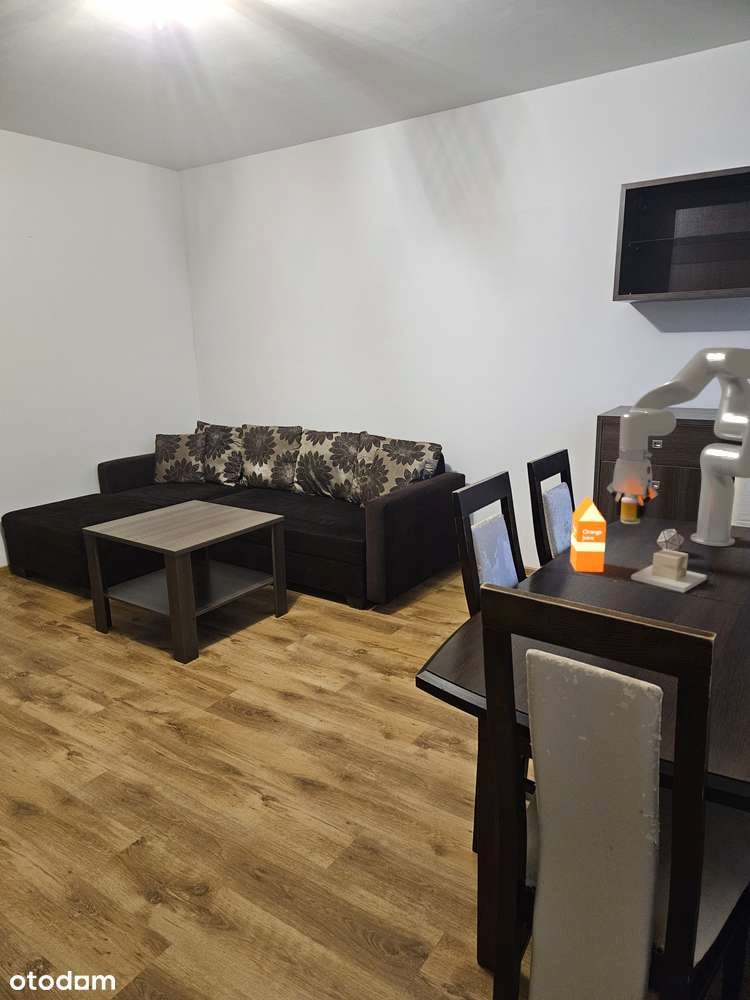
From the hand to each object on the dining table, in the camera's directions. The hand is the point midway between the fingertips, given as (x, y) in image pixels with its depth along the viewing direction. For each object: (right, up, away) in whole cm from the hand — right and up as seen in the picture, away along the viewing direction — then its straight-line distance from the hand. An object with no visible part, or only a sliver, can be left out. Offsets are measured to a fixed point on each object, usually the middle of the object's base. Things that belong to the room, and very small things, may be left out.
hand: (630, 515), depth 188 cm
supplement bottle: (0, -2, 0) cm, 2 cm away
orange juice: (-15, -15, -4) cm, 21 cm away
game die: (+14, -12, +6) cm, 20 cm away
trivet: (+4, -17, -16) cm, 23 cm away
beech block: (+4, -16, -16) cm, 23 cm away
